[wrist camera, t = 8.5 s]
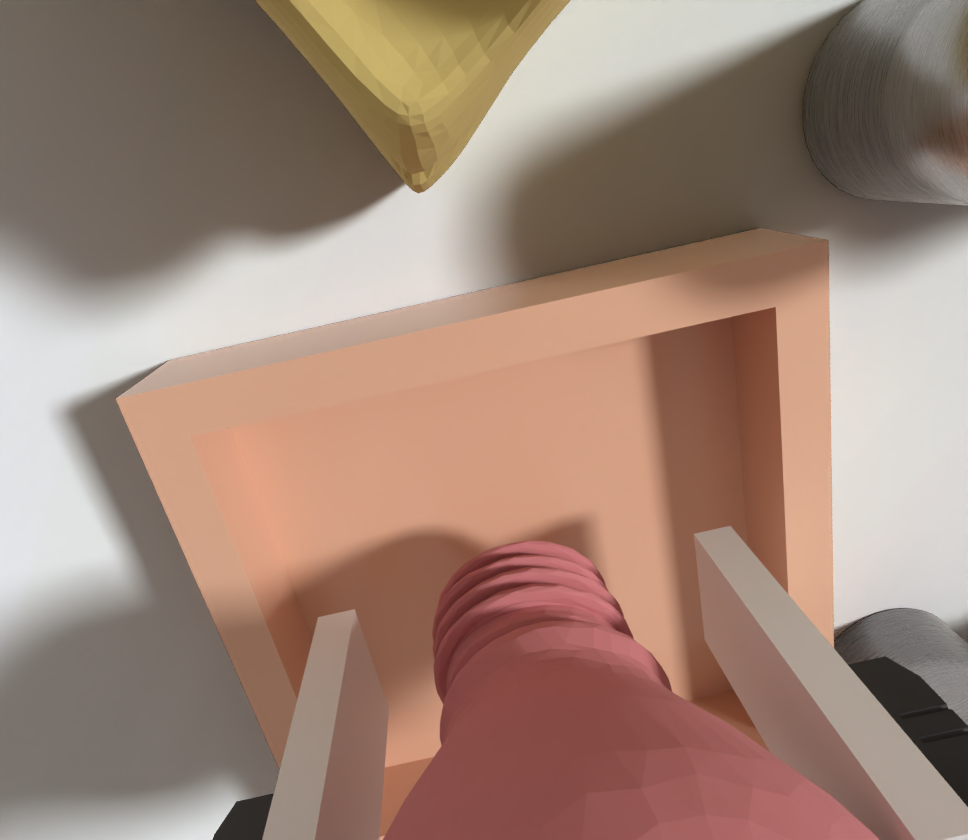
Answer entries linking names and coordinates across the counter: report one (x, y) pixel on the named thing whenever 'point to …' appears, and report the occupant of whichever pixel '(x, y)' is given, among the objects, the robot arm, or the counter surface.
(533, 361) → the dish
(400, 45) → the cheese
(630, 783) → the light bulb
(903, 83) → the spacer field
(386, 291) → the counter surface
